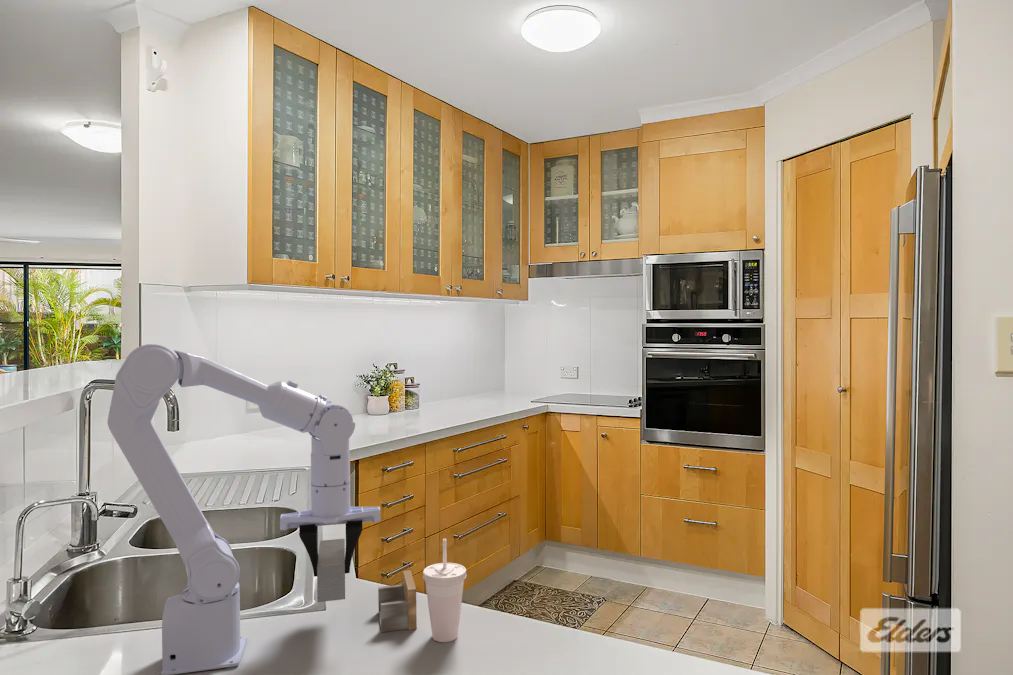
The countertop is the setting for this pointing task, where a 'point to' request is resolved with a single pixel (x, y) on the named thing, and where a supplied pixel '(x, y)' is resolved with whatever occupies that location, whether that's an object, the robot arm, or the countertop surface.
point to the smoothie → (444, 597)
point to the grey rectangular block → (331, 570)
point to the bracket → (398, 605)
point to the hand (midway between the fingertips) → (331, 572)
